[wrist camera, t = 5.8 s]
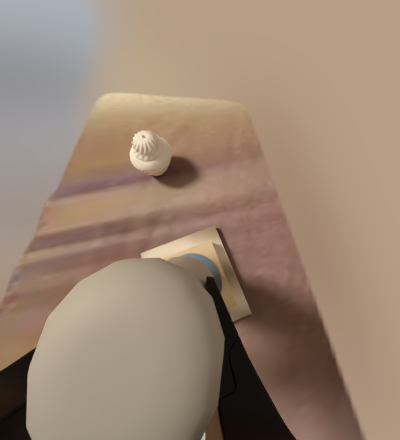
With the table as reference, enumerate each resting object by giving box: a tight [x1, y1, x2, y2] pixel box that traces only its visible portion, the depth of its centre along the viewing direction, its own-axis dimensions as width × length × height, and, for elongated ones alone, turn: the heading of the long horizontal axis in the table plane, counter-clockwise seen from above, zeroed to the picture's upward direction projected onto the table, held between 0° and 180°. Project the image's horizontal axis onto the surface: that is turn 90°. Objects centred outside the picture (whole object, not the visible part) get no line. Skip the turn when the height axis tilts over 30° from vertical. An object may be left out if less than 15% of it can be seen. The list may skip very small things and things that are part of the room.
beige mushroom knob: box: [26, 256, 225, 440], centre depth 9 cm, size 6×6×13 cm
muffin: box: [130, 130, 172, 176], centre depth 23 cm, size 6×6×7 cm
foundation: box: [141, 226, 252, 322], centre depth 20 cm, size 12×11×3 cm
